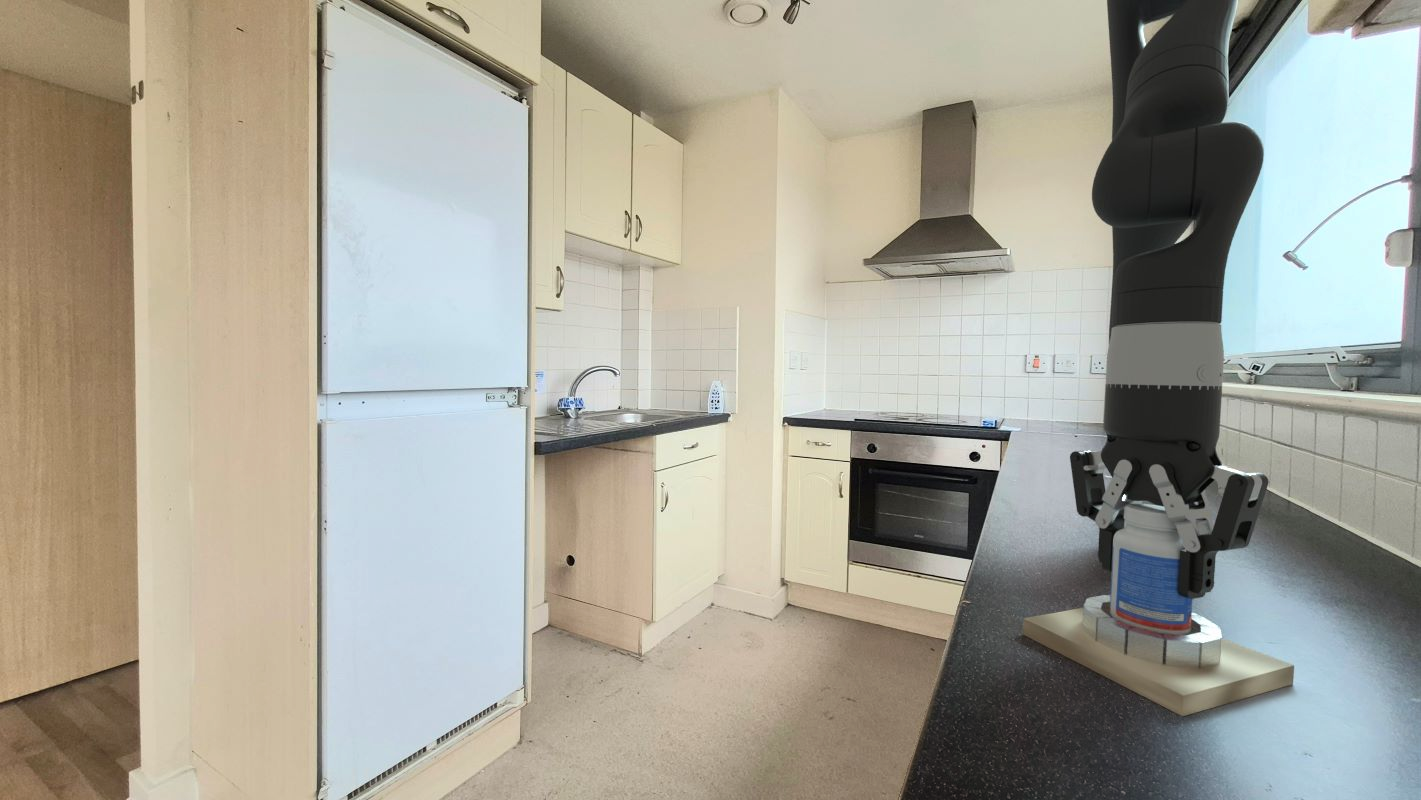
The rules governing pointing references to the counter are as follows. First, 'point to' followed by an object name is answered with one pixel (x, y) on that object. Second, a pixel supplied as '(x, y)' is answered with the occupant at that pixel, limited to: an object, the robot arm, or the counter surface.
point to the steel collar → (1153, 638)
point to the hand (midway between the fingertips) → (1150, 582)
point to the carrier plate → (1164, 667)
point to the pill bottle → (1148, 573)
